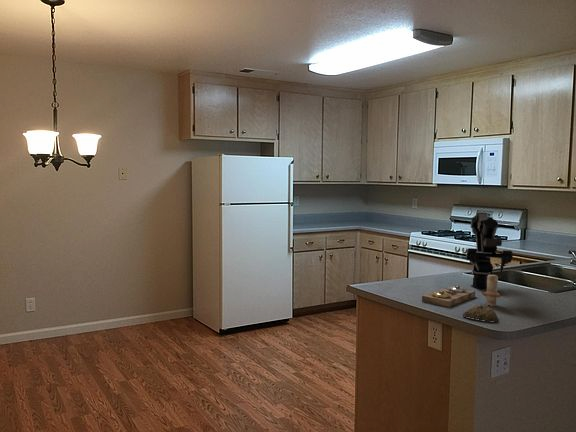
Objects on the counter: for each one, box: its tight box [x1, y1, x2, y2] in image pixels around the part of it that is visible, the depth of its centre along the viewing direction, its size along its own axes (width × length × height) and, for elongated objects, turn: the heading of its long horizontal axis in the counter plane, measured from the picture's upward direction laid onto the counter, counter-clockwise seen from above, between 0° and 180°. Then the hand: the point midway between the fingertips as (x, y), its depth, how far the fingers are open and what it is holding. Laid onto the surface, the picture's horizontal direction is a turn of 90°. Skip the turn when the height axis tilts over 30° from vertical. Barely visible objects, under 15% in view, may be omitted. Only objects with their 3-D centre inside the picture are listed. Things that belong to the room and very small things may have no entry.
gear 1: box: [431, 290, 451, 299], centre depth 213 cm, size 8×8×2 cm
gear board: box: [421, 286, 476, 308], centre depth 218 cm, size 26×12×2 cm, turn 136°
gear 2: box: [447, 285, 468, 293], centre depth 224 cm, size 8×8×2 cm
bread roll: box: [462, 304, 499, 322], centre depth 192 cm, size 13×12×5 cm
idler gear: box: [481, 274, 502, 307], centre depth 210 cm, size 7×7×12 cm
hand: (490, 271), depth 216 cm, fingers open, 9 cm apart
